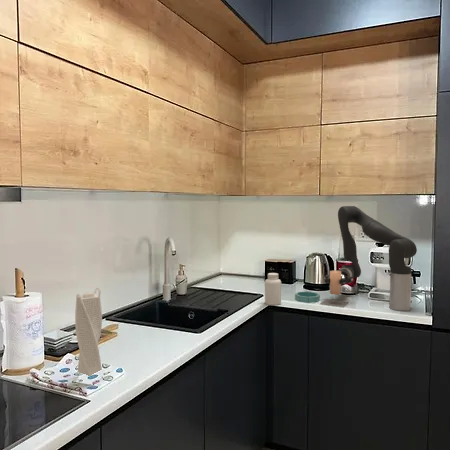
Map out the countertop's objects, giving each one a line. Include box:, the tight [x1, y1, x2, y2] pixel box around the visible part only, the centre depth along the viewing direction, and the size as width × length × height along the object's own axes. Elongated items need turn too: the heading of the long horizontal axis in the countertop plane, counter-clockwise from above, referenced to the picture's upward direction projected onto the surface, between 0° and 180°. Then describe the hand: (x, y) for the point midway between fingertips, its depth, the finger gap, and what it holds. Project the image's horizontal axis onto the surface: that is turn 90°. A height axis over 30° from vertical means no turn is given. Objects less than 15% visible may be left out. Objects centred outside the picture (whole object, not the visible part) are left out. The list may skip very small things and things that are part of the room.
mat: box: [319, 298, 350, 308], centre depth 215 cm, size 12×12×1 cm
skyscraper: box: [74, 287, 103, 376], centre depth 127 cm, size 8×8×28 cm
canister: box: [329, 269, 342, 296], centre depth 214 cm, size 5×5×11 cm
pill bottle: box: [264, 272, 282, 306], centre depth 216 cm, size 8×8×15 cm
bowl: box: [294, 290, 321, 304], centre depth 222 cm, size 12×12×3 cm
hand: (334, 281), depth 212 cm, fingers closed on canister, 5 cm apart
